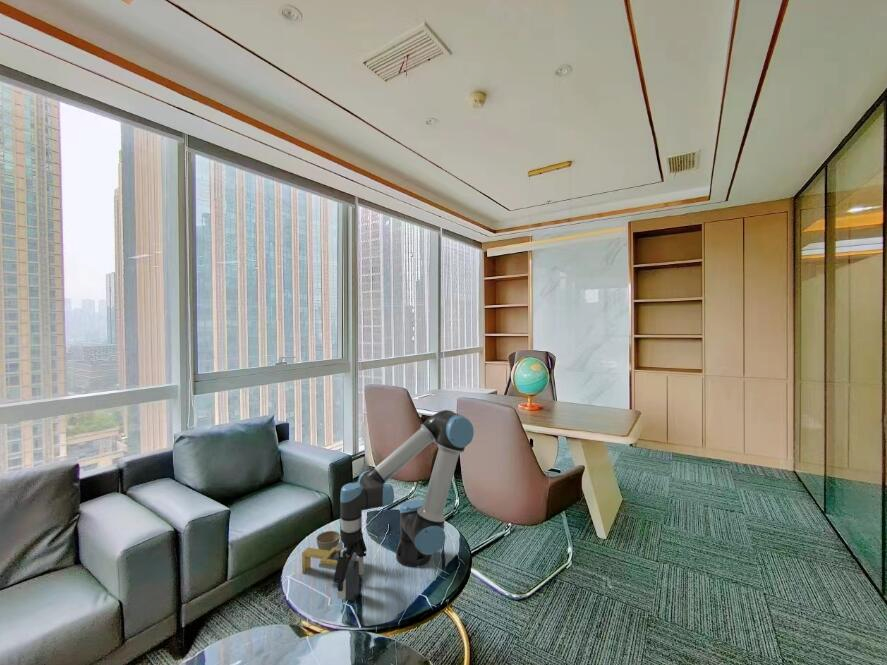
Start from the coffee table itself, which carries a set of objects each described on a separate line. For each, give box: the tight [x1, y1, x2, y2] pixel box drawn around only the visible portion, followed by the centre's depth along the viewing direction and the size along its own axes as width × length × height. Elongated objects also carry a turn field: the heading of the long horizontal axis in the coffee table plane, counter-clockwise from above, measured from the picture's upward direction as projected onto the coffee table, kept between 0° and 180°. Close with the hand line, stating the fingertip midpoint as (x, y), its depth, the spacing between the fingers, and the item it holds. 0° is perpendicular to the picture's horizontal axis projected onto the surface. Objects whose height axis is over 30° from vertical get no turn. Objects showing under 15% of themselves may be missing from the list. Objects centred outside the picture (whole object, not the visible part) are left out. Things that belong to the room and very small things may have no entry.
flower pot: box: [315, 530, 341, 551], centre depth 167 cm, size 10×10×7 cm
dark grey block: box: [345, 560, 360, 602], centre depth 140 cm, size 4×4×12 cm
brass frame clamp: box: [301, 541, 357, 575], centre depth 155 cm, size 20×16×22 cm
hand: (351, 585), depth 140 cm, fingers open, 13 cm apart
